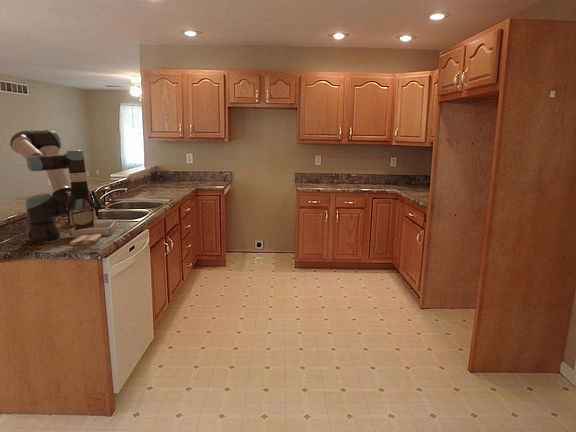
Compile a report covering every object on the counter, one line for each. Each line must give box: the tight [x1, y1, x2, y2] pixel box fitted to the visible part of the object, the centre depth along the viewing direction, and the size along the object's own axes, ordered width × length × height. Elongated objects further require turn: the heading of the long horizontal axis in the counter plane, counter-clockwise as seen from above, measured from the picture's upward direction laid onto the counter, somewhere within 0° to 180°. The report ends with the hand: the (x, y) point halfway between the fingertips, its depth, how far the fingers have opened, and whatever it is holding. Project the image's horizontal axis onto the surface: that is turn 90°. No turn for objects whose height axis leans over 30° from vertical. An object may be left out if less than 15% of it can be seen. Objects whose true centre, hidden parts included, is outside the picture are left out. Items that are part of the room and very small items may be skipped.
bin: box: [68, 221, 117, 239], centre depth 226 cm, size 21×17×4 cm
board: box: [69, 233, 103, 247], centre depth 210 cm, size 12×15×2 cm
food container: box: [70, 206, 95, 230], centre depth 207 cm, size 12×6×10 cm, turn 143°
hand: (84, 223), depth 208 cm, fingers closed on food container, 11 cm apart
